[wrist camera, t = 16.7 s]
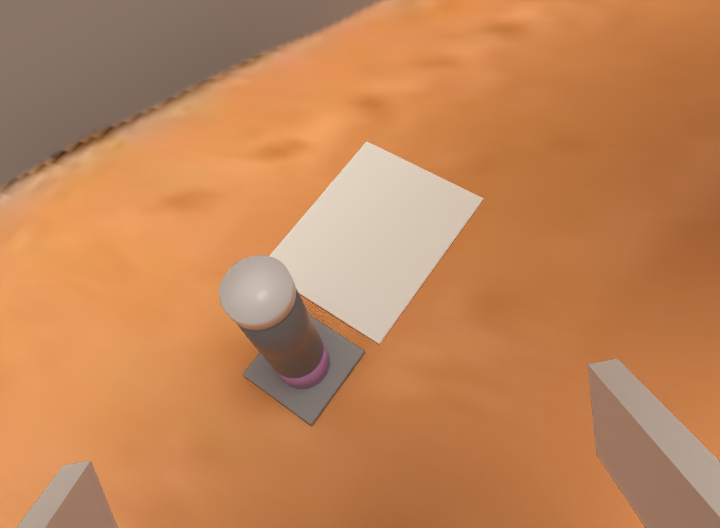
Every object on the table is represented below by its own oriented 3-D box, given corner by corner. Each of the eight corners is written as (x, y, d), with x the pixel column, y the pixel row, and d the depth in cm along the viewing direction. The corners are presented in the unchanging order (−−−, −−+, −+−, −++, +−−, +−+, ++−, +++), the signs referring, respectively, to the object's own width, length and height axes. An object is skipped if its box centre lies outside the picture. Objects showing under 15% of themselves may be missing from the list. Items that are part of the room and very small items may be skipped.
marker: (299, 327, 41) (251, 243, 30) (341, 355, 39) (306, 277, 29) (266, 370, 39) (204, 298, 29) (308, 400, 38) (259, 336, 28)
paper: (366, 142, 48) (366, 141, 48) (483, 199, 44) (483, 198, 44) (260, 269, 44) (259, 267, 44) (379, 344, 40) (379, 343, 40)
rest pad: (297, 308, 42) (296, 306, 41) (365, 352, 40) (364, 350, 39) (244, 376, 40) (242, 374, 39) (312, 426, 38) (310, 424, 37)
